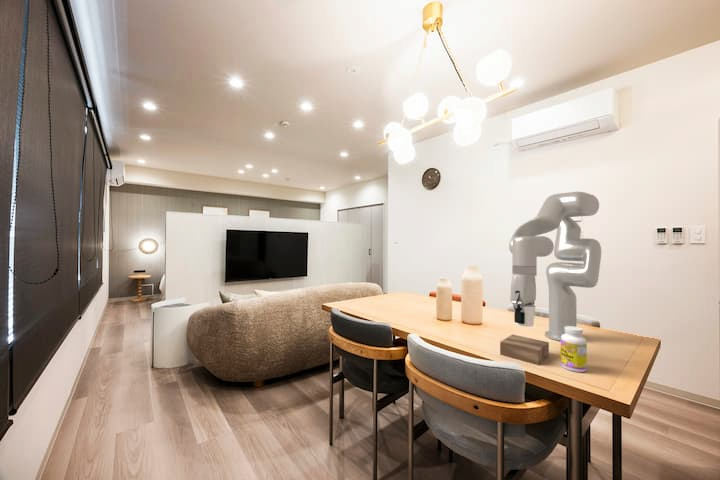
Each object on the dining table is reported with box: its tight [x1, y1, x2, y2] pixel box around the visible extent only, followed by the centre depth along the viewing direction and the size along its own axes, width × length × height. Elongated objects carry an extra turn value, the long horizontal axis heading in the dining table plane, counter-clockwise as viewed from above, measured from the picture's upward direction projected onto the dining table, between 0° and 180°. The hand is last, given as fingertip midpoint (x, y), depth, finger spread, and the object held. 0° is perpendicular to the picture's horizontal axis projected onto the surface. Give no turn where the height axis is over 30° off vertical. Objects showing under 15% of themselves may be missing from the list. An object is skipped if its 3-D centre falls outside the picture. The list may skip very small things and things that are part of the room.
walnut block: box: [499, 334, 550, 366], centre depth 103 cm, size 12×12×5 cm
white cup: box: [513, 304, 536, 328], centre depth 103 cm, size 7×7×7 cm
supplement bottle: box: [560, 326, 588, 373], centre depth 92 cm, size 7×7×13 cm
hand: (524, 321), depth 103 cm, fingers closed on white cup, 6 cm apart
